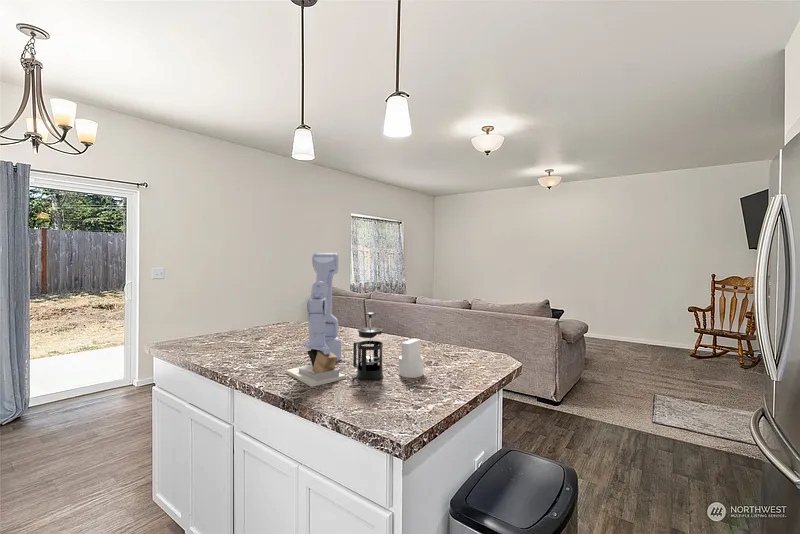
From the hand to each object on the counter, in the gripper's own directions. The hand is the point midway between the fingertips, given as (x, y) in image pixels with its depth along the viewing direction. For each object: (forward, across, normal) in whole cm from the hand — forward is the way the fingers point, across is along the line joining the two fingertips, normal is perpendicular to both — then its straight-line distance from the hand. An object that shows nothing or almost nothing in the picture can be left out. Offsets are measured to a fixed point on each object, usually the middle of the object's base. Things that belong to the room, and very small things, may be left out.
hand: (317, 370), depth 131 cm
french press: (+2, +12, +14) cm, 18 cm away
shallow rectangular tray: (+2, -1, 0) cm, 2 cm away
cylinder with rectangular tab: (+2, +19, +28) cm, 34 cm away
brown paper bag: (0, +4, 0) cm, 4 cm away
